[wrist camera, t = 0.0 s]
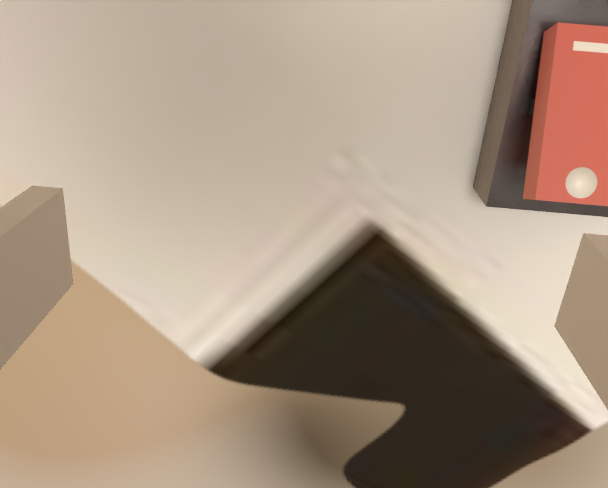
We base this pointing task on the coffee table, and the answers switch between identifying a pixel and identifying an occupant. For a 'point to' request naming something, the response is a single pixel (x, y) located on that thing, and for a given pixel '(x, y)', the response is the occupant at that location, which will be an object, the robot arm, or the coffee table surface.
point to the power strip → (525, 103)
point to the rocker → (570, 118)
